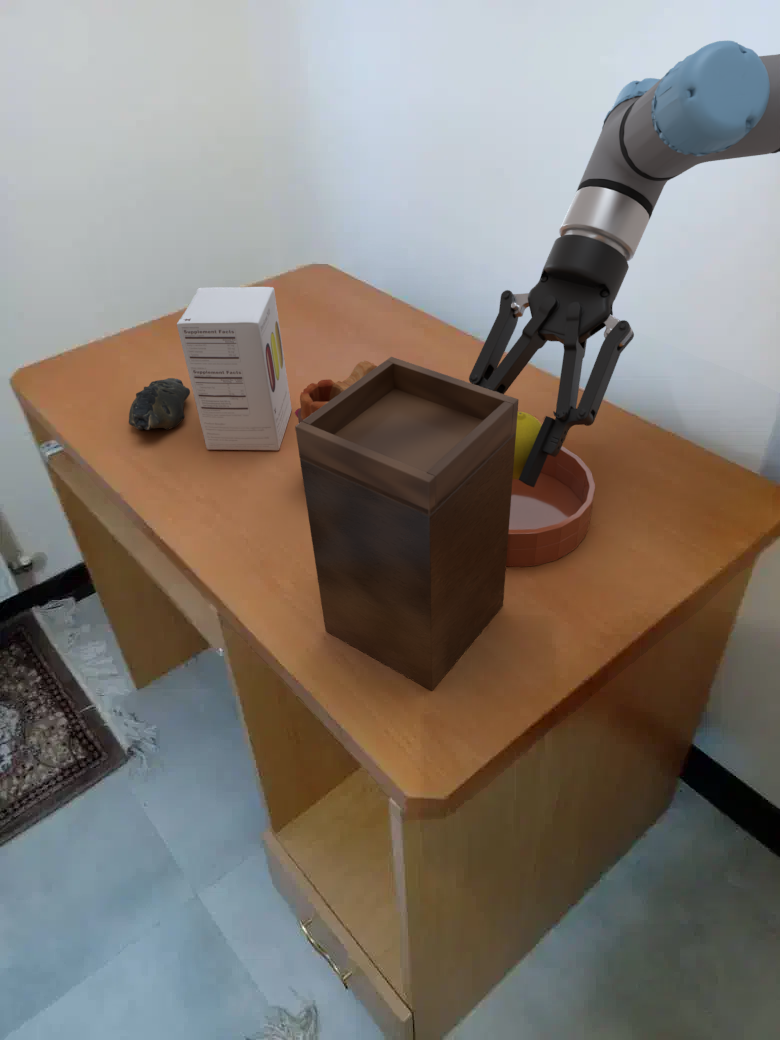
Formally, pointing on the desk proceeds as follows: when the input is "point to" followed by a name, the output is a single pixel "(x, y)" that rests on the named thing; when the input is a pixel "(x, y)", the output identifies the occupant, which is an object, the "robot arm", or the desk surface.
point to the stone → (159, 405)
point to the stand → (411, 566)
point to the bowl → (550, 511)
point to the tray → (408, 432)
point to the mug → (328, 390)
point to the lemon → (524, 440)
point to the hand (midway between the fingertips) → (498, 472)
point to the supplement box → (237, 367)
